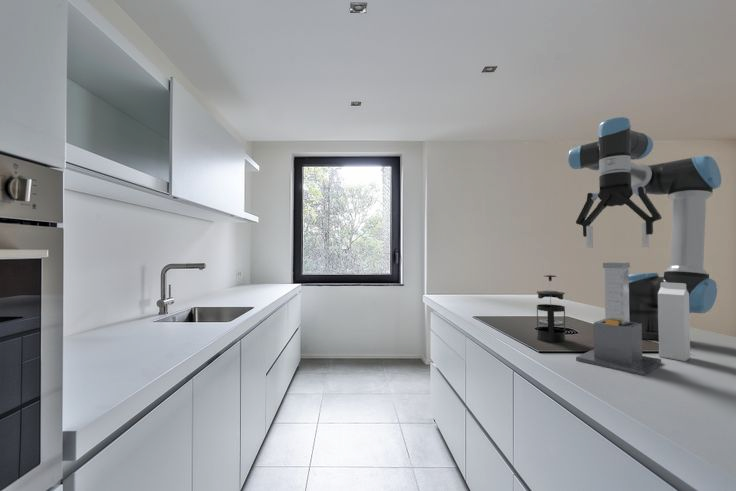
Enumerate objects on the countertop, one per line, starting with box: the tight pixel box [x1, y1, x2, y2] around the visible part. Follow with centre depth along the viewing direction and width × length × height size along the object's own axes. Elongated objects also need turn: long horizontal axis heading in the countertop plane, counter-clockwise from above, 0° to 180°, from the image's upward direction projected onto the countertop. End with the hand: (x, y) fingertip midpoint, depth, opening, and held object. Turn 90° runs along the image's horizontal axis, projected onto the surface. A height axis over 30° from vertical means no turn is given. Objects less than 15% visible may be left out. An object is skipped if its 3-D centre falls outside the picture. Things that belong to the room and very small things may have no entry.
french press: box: [536, 274, 567, 344], centre depth 127 cm, size 12×9×23 cm
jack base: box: [575, 318, 662, 376], centre depth 101 cm, size 16×16×12 cm
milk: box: [658, 282, 691, 362], centre depth 105 cm, size 6×6×22 cm
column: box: [602, 261, 631, 326], centre depth 101 cm, size 7×4×20 cm, turn 129°
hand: (616, 247), depth 102 cm, fingers open, 13 cm apart
